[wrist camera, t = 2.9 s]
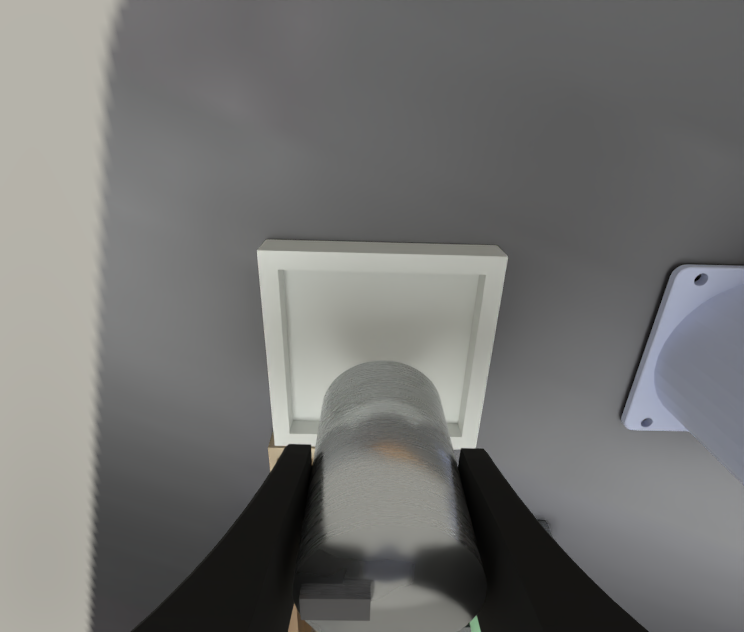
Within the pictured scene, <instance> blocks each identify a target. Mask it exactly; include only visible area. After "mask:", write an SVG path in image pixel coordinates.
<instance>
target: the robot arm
mask: <svg viewBox="0 0 744 632" xmlns="http://www.w3.org/2000/svg"><path fill="white" fill-rule="evenodd" d="M699 274H701V277H700V279H699V280H697V281H696V282H694V279H695V278H696V276H698V275H699ZM646 418H647V419H646ZM644 419H646V420H644ZM643 420H644V421H643ZM621 422H622V424H623V425H624V426H625V427H626V428H627V429H629V430H647V431H689V432H690V433H691V434H692V435H693V436H694V437H695V438H696V439H697V440H698V441H699V442H700V443H701V444H702V445H703V446H704V447H705V448H706V449H707V450H708V451H709V452H710V453H711V454H712V455H713V456H714V457H715V458H716V459H717V460H718V461H719V462H720V463H721V464H722V465H723V466H724V467H725V468H726V469H727V470H728V471H729V472H730V473H731V474H732V475H733V476H735V477H736V478H737V479H738V480H739V481H740V482H741V483H742V484H743V485H744V266H732V265H693V264H686V265H681V266H679V267H677V268H676V269H675V270H674V271H673V272H672V274H671V275H670V278H669V281H668V284H667V287H666V290H665V292H664V295H663V298H662V301H661V304H660V307H659V310H658V313H657V316H656V319H655V321H654V324H653V327H652V330H651V333H650V336H649V339H648V342H647V345H646V347H645V350H644V353H643V356H642V359H641V362H640V365H639V368H638V371H637V373H636V376H635V379H634V382H633V385H632V388H631V391H630V394H629V397H628V399H627V402H626V405H625V408H624V411H623V414H622V417H621ZM311 470H312V453H311V444H288V445H287V446H286V447H285V448H284V450H283V452H282V454H281V455H280V457H279V459H278V461H277V462H276V464H275V466H274V467H273V469H272V470H271V472H270V473H269V475H268V477H267V478H266V480H265V481H264V483H263V484H262V486H261V487H260V488H259V490H258V491H257V493H256V494H255V496H254V497H253V498H252V500H251V501H250V503H249V504H248V506H247V507H246V508H245V510H244V511H243V512H242V514H241V515H240V516H239V517H238V519H237V520H236V521H235V522H234V524H233V525H232V526H231V528H230V529H229V530H228V531H227V533H226V534H225V535H224V536H223V538H222V539H221V540H220V541H219V542H218V544H217V545H216V546H215V547H214V548H213V550H212V551H211V552H210V553H209V554H208V555H207V556H206V557H205V559H204V560H203V561H202V562H201V563H200V564H199V565H198V566H197V567H196V568H195V570H194V571H193V572H192V573H191V574H190V575H189V576H188V577H187V578H186V579H185V580H184V581H183V582H182V583H181V584H180V585H179V586H178V587H177V588H176V589H175V590H174V591H173V592H172V593H171V594H170V595H169V596H168V597H167V598H166V599H165V600H164V601H163V602H162V603H161V604H160V605H159V606H158V607H157V608H156V609H155V610H154V611H153V612H152V613H151V614H150V615H149V616H147V617H146V618H145V619H144V620H143V621H142V622H141V623H140V624H139V625H137V626H136V627H135V628H134V629H133V630H132V631H131V632H288V629H289V624H290V620H291V615H292V611H293V606H294V600H293V595H292V590H293V581H294V574H295V568H296V562H297V556H298V550H299V544H300V538H301V531H302V525H303V519H304V513H305V507H306V501H307V495H308V488H309V482H310V476H311ZM458 470H459V474H460V478H461V482H462V486H463V490H464V494H465V498H466V502H467V506H468V510H469V514H470V518H471V522H472V526H473V530H474V534H475V538H476V542H477V546H478V550H479V554H480V558H481V561H482V565H483V569H484V573H485V577H486V583H487V592H486V598H485V601H484V604H483V606H482V607H481V609H480V611H479V612H478V614H477V618H478V622H479V626H480V631H481V632H648V631H647V630H646V629H645V628H644V627H643V626H642V625H641V624H639V623H638V622H637V621H636V620H635V619H634V618H633V617H631V616H630V615H629V614H628V613H627V612H626V611H625V610H623V609H622V608H621V607H620V606H619V605H618V604H617V603H615V602H614V601H613V600H612V599H611V598H610V597H609V596H608V595H607V594H606V593H605V592H604V591H603V590H602V589H601V588H600V587H599V586H598V585H597V584H596V583H595V582H594V581H593V580H592V579H591V578H590V577H589V576H588V575H587V574H586V573H585V572H584V571H583V570H582V569H581V568H580V567H579V566H578V565H577V564H576V563H575V562H574V561H573V560H572V559H571V558H570V557H569V556H568V555H567V554H566V552H565V551H564V550H563V549H562V548H561V547H560V546H559V545H558V544H557V542H556V541H555V540H554V539H553V538H552V537H551V536H550V534H549V533H548V532H547V531H546V530H545V529H544V527H543V526H542V525H541V524H540V523H539V521H538V520H537V519H536V518H535V517H534V515H533V514H532V513H531V512H530V510H529V509H528V508H527V507H526V505H525V504H524V503H523V502H522V500H521V499H520V498H519V496H518V495H517V494H516V492H515V491H514V490H513V488H512V487H511V486H510V484H509V483H508V482H507V480H506V479H505V478H504V476H503V475H502V473H501V472H500V471H499V469H498V468H497V466H496V465H495V464H494V462H493V461H492V459H491V458H490V456H489V455H488V453H487V452H486V451H485V450H484V449H477V448H461V452H460V458H459V465H458Z"/></svg>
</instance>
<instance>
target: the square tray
mask: <svg viewBox="0 0 744 632" xmlns="http://www.w3.org/2000/svg"><path fill="white" fill-rule="evenodd" d="M257 258H258V269H259V280H260V291H261V302H262V313H263V323H264V334H265V345H266V356H267V367H268V378H269V389H270V399H271V410H272V421H273V432H274V443H275V446H287V445H288V444H311V446H314V447H315V445H316V439H317V433H318V427H319V421H320V415H321V409H322V403H323V398H324V396H325V393H326V391H327V389H328V387H329V386H330V385H331V383H332V382H333V381H334V380H335V379H336V378H337V377H338V376H339V375H340V374H342V373H343V372H344V371H346V370H348V369H350V368H351V367H354V366H356V365H359V364H362V363H365V362H371V361H382V360H385V361H395V362H400V363H403V364H406V365H409V366H411V367H413V368H416V369H417V370H419V371H420V372H422V373H423V374H424V375H426V376H427V377H428V378H429V379H430V380H431V381H432V383H433V384H434V386H435V387H436V389H437V391H438V393H439V396H440V399H441V403H442V407H443V411H444V415H445V419H446V423H447V427H448V431H449V435H450V439H451V443H452V447H453V449H461V448H476V443H477V438H478V432H479V426H480V420H481V414H482V408H483V402H484V396H485V390H486V385H487V379H488V373H489V367H490V361H491V355H492V349H493V343H494V337H495V332H496V326H497V320H498V314H499V308H500V302H501V296H502V290H503V284H504V278H505V273H506V267H507V261H508V256H507V255H506V254H505V253H504V252H503V251H502V250H501V249H500V248H499V247H498V246H497V245H467V244H428V243H390V242H351V241H312V240H273V239H266V240H265V241H264V243H263V244H262V245H261V246H260V247H259V248H258V250H257Z"/></svg>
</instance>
